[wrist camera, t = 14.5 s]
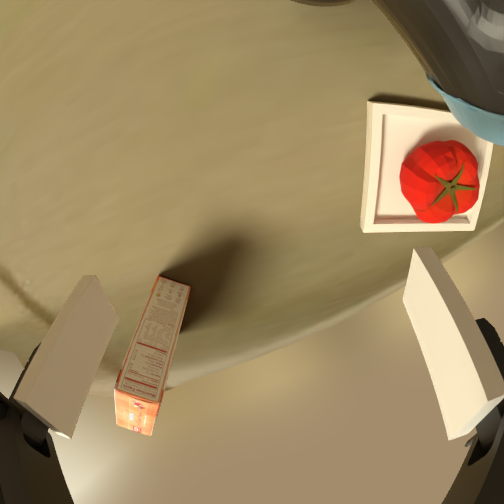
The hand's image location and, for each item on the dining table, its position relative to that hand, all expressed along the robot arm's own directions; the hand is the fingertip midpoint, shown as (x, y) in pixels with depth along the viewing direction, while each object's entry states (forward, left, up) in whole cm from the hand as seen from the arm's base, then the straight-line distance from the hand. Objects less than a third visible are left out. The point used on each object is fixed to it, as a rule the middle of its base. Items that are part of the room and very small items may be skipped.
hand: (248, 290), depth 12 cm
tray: (+4, +21, -26) cm, 34 cm away
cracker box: (+27, -18, -26) cm, 41 cm away
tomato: (+4, +21, -25) cm, 33 cm away
